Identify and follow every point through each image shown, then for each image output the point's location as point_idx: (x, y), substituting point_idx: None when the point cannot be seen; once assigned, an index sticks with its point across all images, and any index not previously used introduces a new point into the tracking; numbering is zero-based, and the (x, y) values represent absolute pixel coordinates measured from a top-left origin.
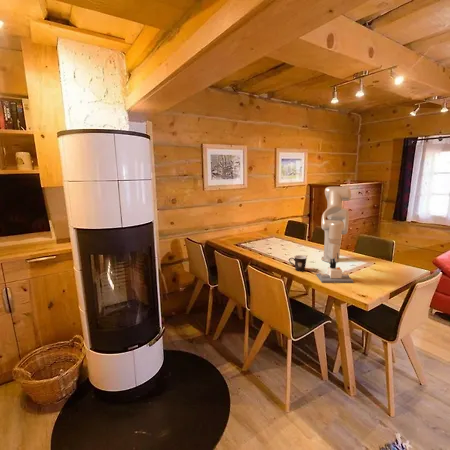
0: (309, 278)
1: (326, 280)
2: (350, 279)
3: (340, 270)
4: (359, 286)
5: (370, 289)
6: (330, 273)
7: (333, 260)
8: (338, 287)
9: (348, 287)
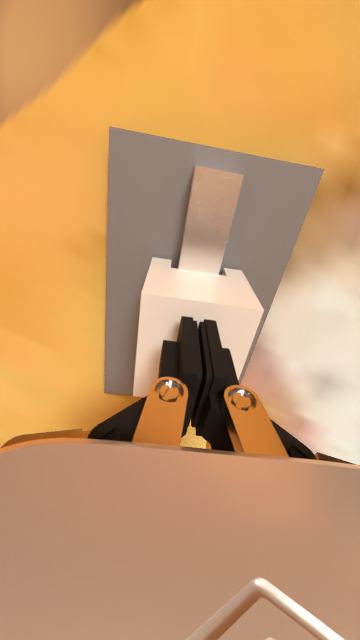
0: (268, 3)
1: (109, 187)
2: (126, 387)
3: (134, 384)
4: (52, 385)
5: (14, 412)
6: (161, 276)
7: (100, 435)
8: (9, 246)
9: (24, 319)
